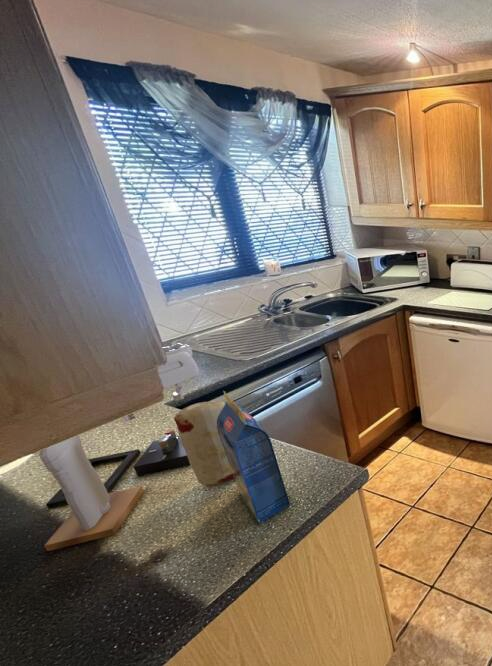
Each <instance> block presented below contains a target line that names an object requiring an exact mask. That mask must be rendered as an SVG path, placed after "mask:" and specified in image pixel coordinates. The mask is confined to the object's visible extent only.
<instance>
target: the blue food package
mask: <svg viewBox="0 0 492 666" xmlns="http://www.w3.org/2000/svg"><path fill="white" fill-rule="evenodd" d="M222 392H223V395H224V398H225V401H226V402H225V406H224V407H223V409H222V410H221V412H220V414H219V416H218V418H217V430H218V433H219V436H220V439H221V442H222V444H223V447H224V450H225V453H226V455H227V458H228V461H229V464H230V467H231V469H232V472H233V475H234V480H235V483H236V487H237V489H238V491H239V494H240V495H241V497H242V500H243V501H244V503H245V504H246V506H247V507H248V509H249V511H250V512H251V514H252V515H253V517H254V518H255V519H256V520H257V522H258V523H261V522H263V521H265V520H266V519H268V518H270V517H272V516H274V515H275V514H277V513H279V512H281V511H282V510H284V509H286V508H287V507H289V506H290V505H291V503H290V500H289V497H288V494H287V490H286V486H285V482H284V480H283V477H282V473H281V469H280V466H279V463H278V460H277V456H276V453H275V449H274V446H273V444H272V440H271V438H270V436H269V434H268V433H267V432H266V431H265V430H264V429H263V428H262V426H261V425H260V423H259V422H258V421H257V420H256V419H255V418H254V417H253V416H252V415H251V414H250V413H249V412H248V411H247V410H246V409H245V408H244V407H242V406H240V405H237V404H236V403H235V401H233V400H232V399H231V397H230V396H229V395H228V394H227V393H226V391H224V390H223V391H222Z"/></svg>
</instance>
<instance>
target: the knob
mask: <svg viewBox="0 0 492 666" xmlns="http://www.w3.org/2000/svg"><path fill="white" fill-rule="evenodd" d="M159 440H160V441H159V442H158V443H159V445H160V448H161V450H162V452H163V454H166V453H170V452H172V450H173V449H174V447H175V446H176V444H177V443H178V439H177V435H176V432H175V430H174V429H169V430H166V431H165V432H164V434H162V436H161V438H160V439H159Z"/></svg>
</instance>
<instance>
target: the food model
mask: <svg viewBox="0 0 492 666" xmlns="http://www.w3.org/2000/svg"><path fill="white" fill-rule="evenodd" d="M225 404H226V402H224V401H218V400H217V401H211V402H209V401H202V402H197V403H193V404H191V405H188V406H186V407H184V408H182V409H181V410H180V411H178V412H177V414H175V416H174V417H173V420H174V422H175V425H176V428H177V431H178V432H177V433H178V436H180V440H181V443H182V446H183V448H184V450H185V452H186V454H187V457H188V460H189V463H190V468H191V469H192V471H193V473H194V475H195V477H196V481H197V483H199V484H200V485H208V486H209V485H216V484H223V483H225V482H229V481H232V480H235V478H234V475H233V472H232V469H231V467H230V464H229V461H228V458H227V455H226V453H225V450H224V447H223V444H222V442H221V439H220V436H219V433H218V430H217V418H218V416H219V414H220V412H221V410H222V409H223V407H224V406H225Z"/></svg>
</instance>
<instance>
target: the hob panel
mask: <svg viewBox="0 0 492 666" xmlns="http://www.w3.org/2000/svg"><path fill="white" fill-rule="evenodd" d="M176 437H177V439H178V443H177V444H176V446H175V447H174V449H173V450H172V452H170V453H166V454H163V452H162V450H161V448H160V445H159V443H158V442H159V441H160V439H156V440H152V441H151V443H150V444H149V445H148V447H147V448H146V450H145V451H144V452H143V453H142V455H141V456H140V457H139V459H138V460H137V461H136V462H135V464H134V465H133V470H134V472H135V474H136V476H137V477H138V478H140V477H144V476H148V475H154V474H158V473H162V472H165V471H172V470H175V469H180V468H186V467H189V466H190V467H191V465H190V463H189V460H188V457H187V454H186V452H185V450H184V448H183V446H182V443H181V440H180V436H179V435H176Z"/></svg>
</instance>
